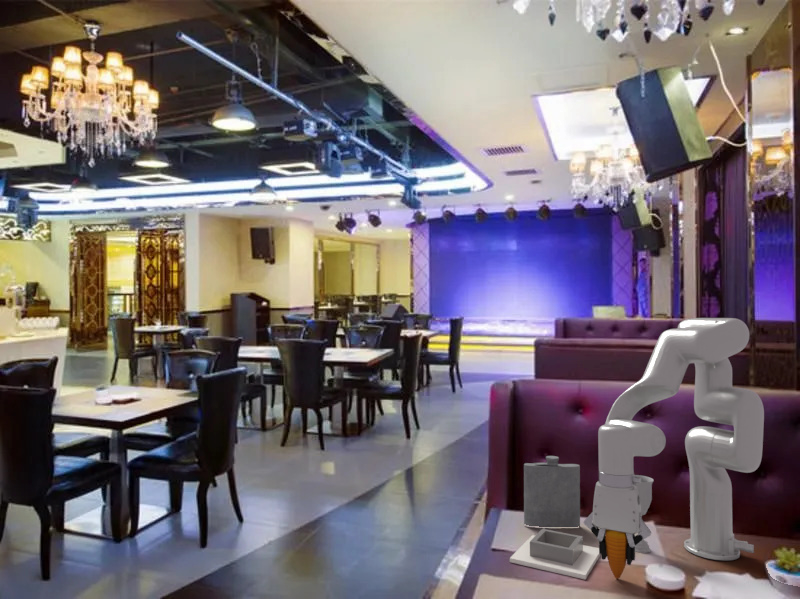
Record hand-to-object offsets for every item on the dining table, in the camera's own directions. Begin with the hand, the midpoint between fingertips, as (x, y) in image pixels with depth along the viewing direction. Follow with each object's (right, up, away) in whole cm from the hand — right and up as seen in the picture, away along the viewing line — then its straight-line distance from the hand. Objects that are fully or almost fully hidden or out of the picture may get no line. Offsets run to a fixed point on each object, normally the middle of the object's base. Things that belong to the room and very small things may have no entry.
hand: (617, 559), depth 130 cm
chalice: (+13, -5, +18) cm, 22 cm away
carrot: (0, -5, 0) cm, 5 cm away
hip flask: (-6, -6, +33) cm, 34 cm away
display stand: (-11, -5, +12) cm, 16 cm away
